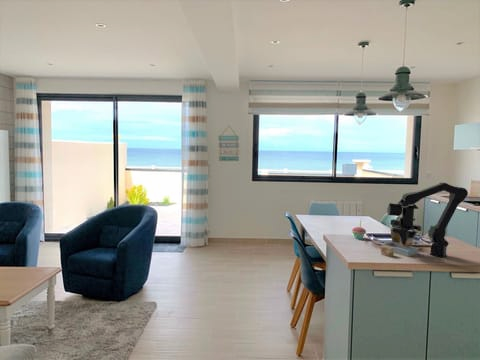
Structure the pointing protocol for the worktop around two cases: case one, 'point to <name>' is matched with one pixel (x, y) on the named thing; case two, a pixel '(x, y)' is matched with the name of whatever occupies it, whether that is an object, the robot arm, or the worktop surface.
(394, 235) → the ceramic cup
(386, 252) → the block
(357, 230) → the cupcake
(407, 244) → the block
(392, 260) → the worktop surface
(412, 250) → the tray
